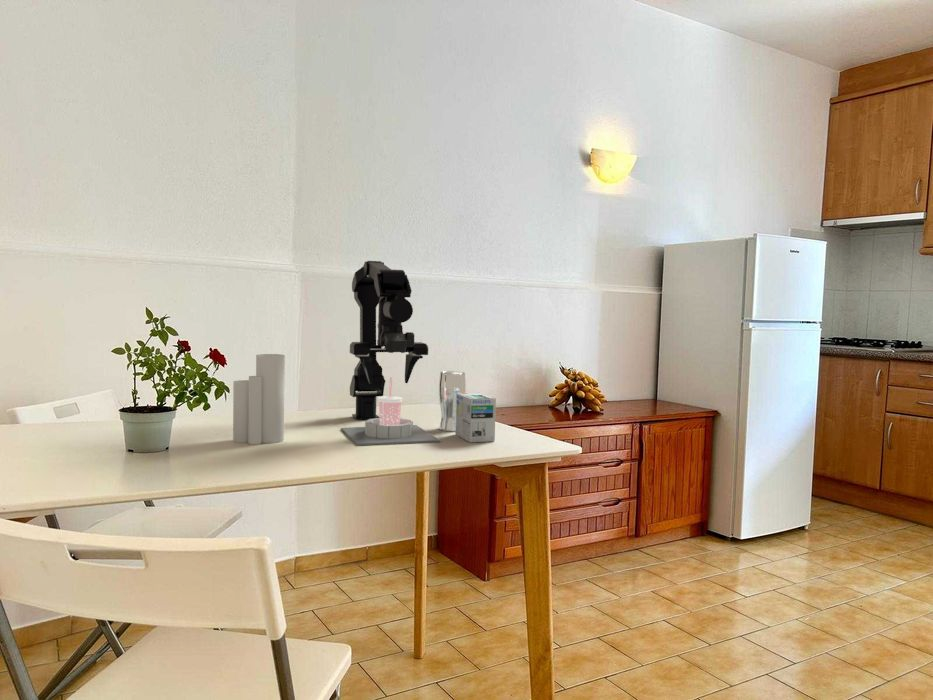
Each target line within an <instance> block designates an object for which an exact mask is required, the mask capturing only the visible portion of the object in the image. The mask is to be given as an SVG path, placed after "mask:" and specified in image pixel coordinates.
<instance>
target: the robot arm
mask: <svg viewBox="0 0 933 700" xmlns="http://www.w3.org/2000/svg"><path fill="white" fill-rule="evenodd" d="M410 284H411V283H410V280H409V278H408V274H406V272H405V270H404V269H391V268H390V267H388V265H385V263H384V261H380V260H379V261H378V260H367V261H364V264H363V266H362V267H361V268H358V270H357V271H355V272H354V275H353V278H352V282H351V291H352V293H353V299H354V301H355V302H356V304H357V306H358V307H359V341H351V343H350V345H349V354H351V355H354V357H355V358H358V359H359V361H358V362H357V364H356V366H355V367H354V370H353V371H354V372H353V374H352V377H351V381H350V385H349V396H351V397H352V398H355V413H352V417H353V418H354V419H355V420H369V419H374V418H379V415H378V414H377V397H380V396H384V390H385V385H386V379H385V376H384V375H383V368H382V366H381V365H380V363H379V362H378V360H377V353H390V354H393V353H401V354H404V353H406V354H405V364H404V383H405V384H408V383H409V381H410V378H411V375H412V372H413V370H414V367H415V365H416V363H417V362H418V361H419V360H420V359H423V358H424V356H428V355H429V345H428V344H427V343H424V342H422V341H419V342H417V341H415V333H414V332H412V331H411V332H410V331H407V332H405V333H404V331H403V324H402V323H406V322H408V321H409V320H411V317H412V316H413V313H414V308H413V305H412V303H411V302H410V301H409V300H408V299H406V298H411V294H412V287H411V285H410ZM377 307H378V312H377ZM377 313H378V315H377ZM377 316H378V317H377ZM377 318H378V320H377ZM407 353H408V354H407Z"/></svg>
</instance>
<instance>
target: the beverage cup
mask: <svg viewBox="0 0 933 700" xmlns="http://www.w3.org/2000/svg"><path fill="white" fill-rule="evenodd" d="M392 380H393V378H392V377H391V376H390V377H389V390H388V391H389V395H383V396H377V402H378V416H379V421H380V425H399V423H400V418H401V411H402V402H403V397H402V396H396V395H392V383H393V382H392Z"/></svg>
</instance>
